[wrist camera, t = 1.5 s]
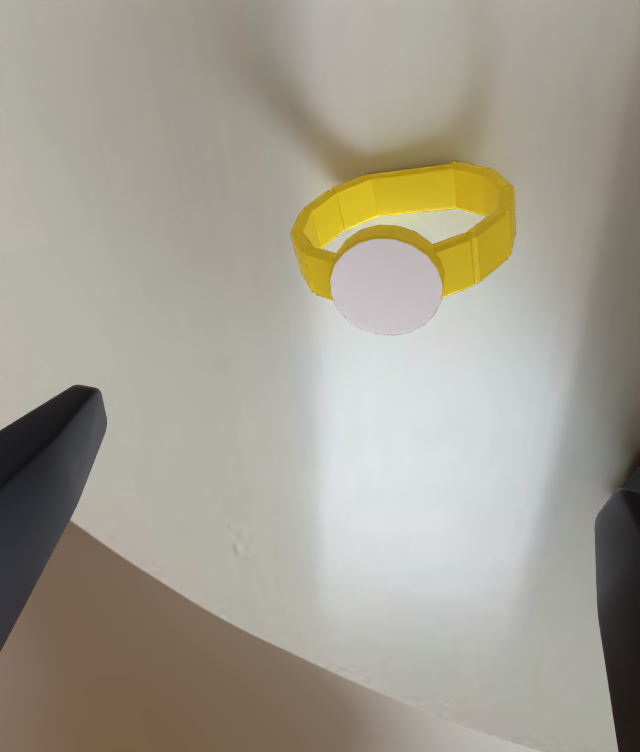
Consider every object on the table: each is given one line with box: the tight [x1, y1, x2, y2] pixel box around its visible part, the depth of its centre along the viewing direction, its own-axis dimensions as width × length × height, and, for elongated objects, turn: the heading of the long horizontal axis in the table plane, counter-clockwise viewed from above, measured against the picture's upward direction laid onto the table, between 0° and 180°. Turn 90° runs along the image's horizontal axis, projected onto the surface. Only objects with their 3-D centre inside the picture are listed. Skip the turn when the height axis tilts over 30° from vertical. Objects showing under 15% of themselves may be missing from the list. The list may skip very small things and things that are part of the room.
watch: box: [291, 161, 516, 335], centre depth 16 cm, size 6×3×6 cm, turn 103°
